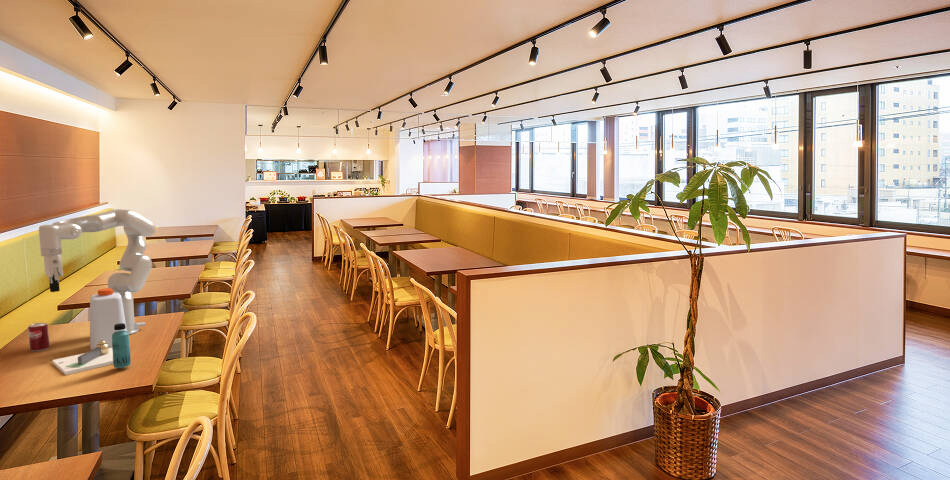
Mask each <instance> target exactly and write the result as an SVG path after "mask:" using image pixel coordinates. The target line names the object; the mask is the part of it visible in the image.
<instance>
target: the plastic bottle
mask: <svg viewBox="0 0 950 480" xmlns="http://www.w3.org/2000/svg"><path fill="white" fill-rule="evenodd" d="M89 301H90V302H89V347H90V351H91V350H93V349H95V348H96V345H97V344H98V341H101V340H105V341H106V343H108V348H111V347H112V334H113V333H114V332H116V331H121V330H114V325H115V324H119V323H124V324H125V326H126V322H125V316H124V310H123V303H122V297H121V295H120V294H119V293H113V289H111V288H101V289H98V290H97V293H95V294H93V295H91V296H90V298H89ZM123 330H124V331H127V329H126V328H125V329H123Z"/></svg>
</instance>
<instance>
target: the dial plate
mask: <svg viewBox="0 0 950 480" xmlns="http://www.w3.org/2000/svg"><path fill="white" fill-rule="evenodd" d="M85 353H86V352H84V353H80V354H79V353H78V354H75V355H69V356H66V357H60V358H55V359H52V360H51V361H52V362H51V363H52V364H53V365H54V366H55V367H56V368H57V369H58V370H59V371H60V372H62V373H63V375H65V376H68V375H73V374H76V373H82V372H87V371H89V370H90V371H91V370H93V369H98V368H103V367H107V366H111V364H112V365H114V364H113V349H112V347H111V348H108V353H106V354H101V355H99V356H97V357H95V358H93V359H91V360H89V361H87V362H85V363H83V364H78V357H79V356H81V355H83V354H85Z"/></svg>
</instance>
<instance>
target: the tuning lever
mask: <svg viewBox="0 0 950 480" xmlns="http://www.w3.org/2000/svg"><path fill="white" fill-rule="evenodd" d="M84 353H85V354H83V353H82V354H83V355H81V356H79V357H78V364H83V363H85V362H87V361H89V360H91V359H93V358H95V357H97V356H99V355H101V354H106V353H108V343H106V341H105V340H101V341H98V344H97V345H96V348H95V349H93V350H91V349H90V350H89V351H86V352H84Z"/></svg>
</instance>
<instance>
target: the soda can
mask: <svg viewBox="0 0 950 480" xmlns="http://www.w3.org/2000/svg"><path fill="white" fill-rule="evenodd" d="M27 332H28V333H27V334H28V342H29V344H28V345H29V350H30V351H31V352H42V351H45V350H46V351H47V350H48V349H49V348H50V347H51V345H50V344H51V343H50V334H49V325H48V323H47V322H36V323H31V324H29V325H28V326H27Z"/></svg>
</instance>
